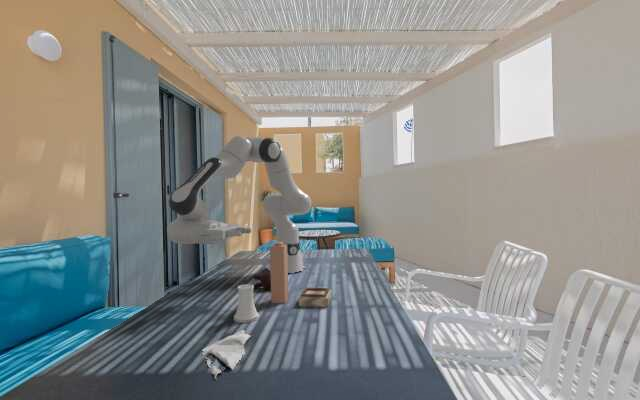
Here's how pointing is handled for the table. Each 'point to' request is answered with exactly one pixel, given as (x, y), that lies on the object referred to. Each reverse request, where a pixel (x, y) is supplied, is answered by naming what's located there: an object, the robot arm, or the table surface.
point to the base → (315, 297)
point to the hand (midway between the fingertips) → (246, 232)
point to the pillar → (279, 272)
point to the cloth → (227, 351)
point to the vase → (246, 305)
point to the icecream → (263, 280)
